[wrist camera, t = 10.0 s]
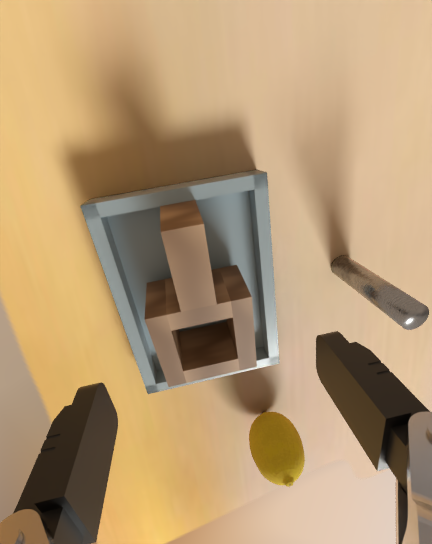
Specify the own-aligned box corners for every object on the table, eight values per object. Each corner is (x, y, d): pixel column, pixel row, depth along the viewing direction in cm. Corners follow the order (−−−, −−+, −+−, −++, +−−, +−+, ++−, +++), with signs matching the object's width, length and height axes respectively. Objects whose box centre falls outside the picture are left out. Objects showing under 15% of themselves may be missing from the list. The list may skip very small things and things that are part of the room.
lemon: (249, 434, 35) (270, 508, 28) (236, 407, 33) (255, 481, 26) (290, 418, 35) (322, 488, 28) (279, 390, 33) (311, 458, 26)
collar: (229, 193, 20) (246, 215, 16) (243, 329, 27) (256, 366, 24) (124, 212, 19) (116, 240, 16) (167, 346, 27) (168, 387, 23)
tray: (256, 169, 22) (266, 172, 20) (271, 346, 30) (279, 363, 28) (89, 199, 21) (80, 205, 19) (149, 374, 29) (147, 394, 27)
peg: (351, 253, 27) (431, 301, 19) (350, 272, 28) (426, 326, 19) (331, 257, 26) (403, 308, 18) (330, 276, 27) (399, 332, 19)
